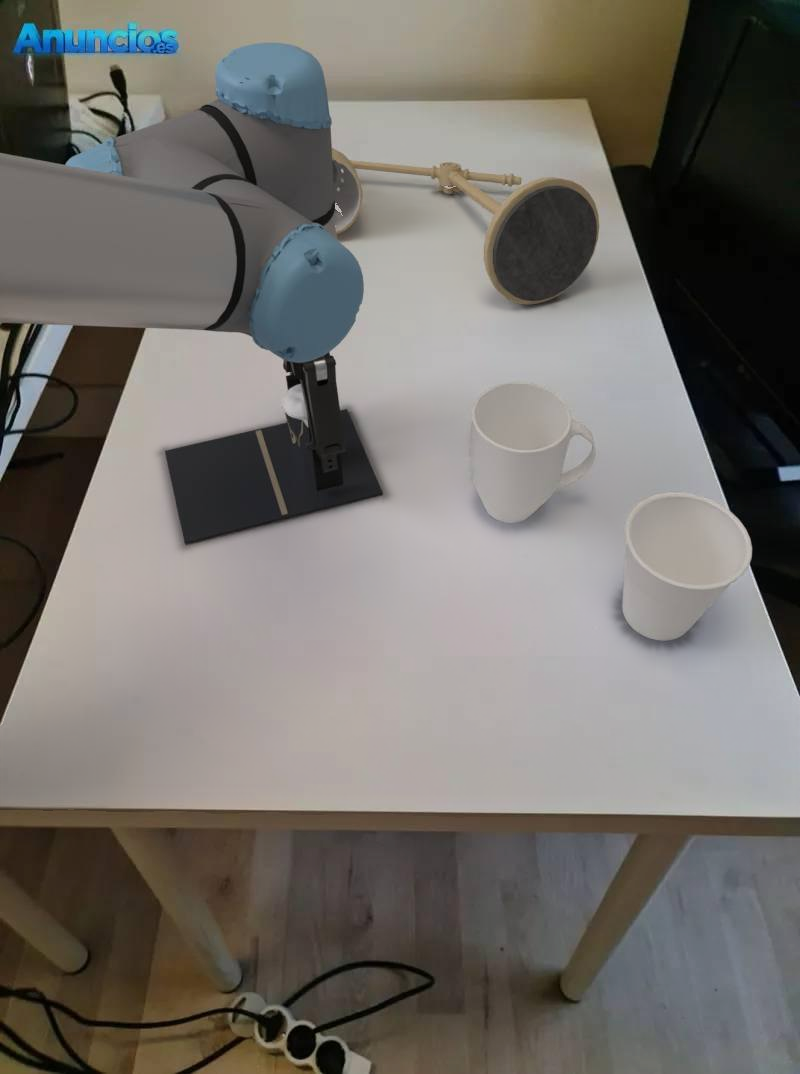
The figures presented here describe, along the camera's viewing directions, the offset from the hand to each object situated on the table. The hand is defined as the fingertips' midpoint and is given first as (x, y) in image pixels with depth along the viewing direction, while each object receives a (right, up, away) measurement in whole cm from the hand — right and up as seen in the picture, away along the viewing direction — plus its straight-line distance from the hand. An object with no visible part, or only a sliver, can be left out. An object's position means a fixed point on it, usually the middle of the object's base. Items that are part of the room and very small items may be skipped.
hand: (317, 452), depth 86 cm
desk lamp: (+11, +32, +28) cm, 44 cm away
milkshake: (0, -1, +1) cm, 1 cm away
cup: (+32, -16, -11) cm, 37 cm away
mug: (+21, -5, -2) cm, 22 cm away
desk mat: (-5, -2, 0) cm, 5 cm away
